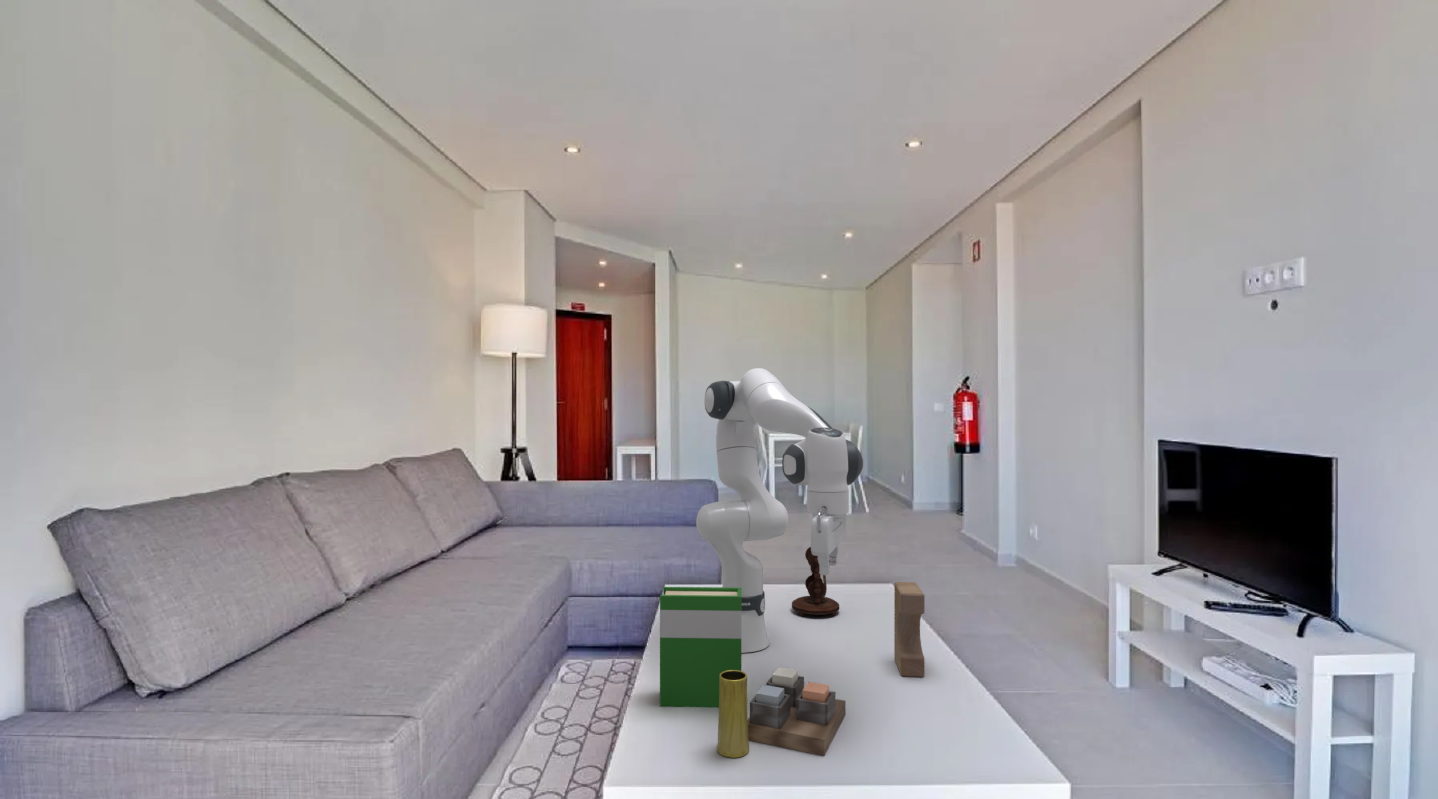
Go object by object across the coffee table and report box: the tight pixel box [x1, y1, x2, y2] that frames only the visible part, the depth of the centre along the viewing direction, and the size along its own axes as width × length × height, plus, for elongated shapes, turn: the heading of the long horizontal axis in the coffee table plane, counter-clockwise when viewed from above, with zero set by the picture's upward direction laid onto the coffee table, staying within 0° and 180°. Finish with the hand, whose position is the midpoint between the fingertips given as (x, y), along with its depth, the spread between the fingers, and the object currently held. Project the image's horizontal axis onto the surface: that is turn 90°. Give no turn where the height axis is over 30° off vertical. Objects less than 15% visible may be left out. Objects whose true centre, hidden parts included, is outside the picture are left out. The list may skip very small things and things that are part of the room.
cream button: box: [771, 666, 799, 687], centre depth 146 cm, size 4×4×3 cm
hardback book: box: [659, 586, 742, 709], centre depth 152 cm, size 18×7×24 cm, turn 88°
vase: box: [716, 670, 750, 759], centre depth 131 cm, size 6×6×14 cm
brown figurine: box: [791, 546, 840, 618], centre depth 215 cm, size 15×15×20 cm
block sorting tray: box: [747, 675, 847, 757], centre depth 140 cm, size 16×18×7 cm
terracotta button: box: [802, 681, 830, 703], centre depth 138 cm, size 4×4×3 cm
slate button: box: [755, 684, 784, 706], centre depth 137 cm, size 4×4×3 cm
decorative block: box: [893, 581, 925, 678], centre depth 170 cm, size 11×6×20 cm, turn 173°
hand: (828, 569), depth 146 cm, fingers open, 8 cm apart
